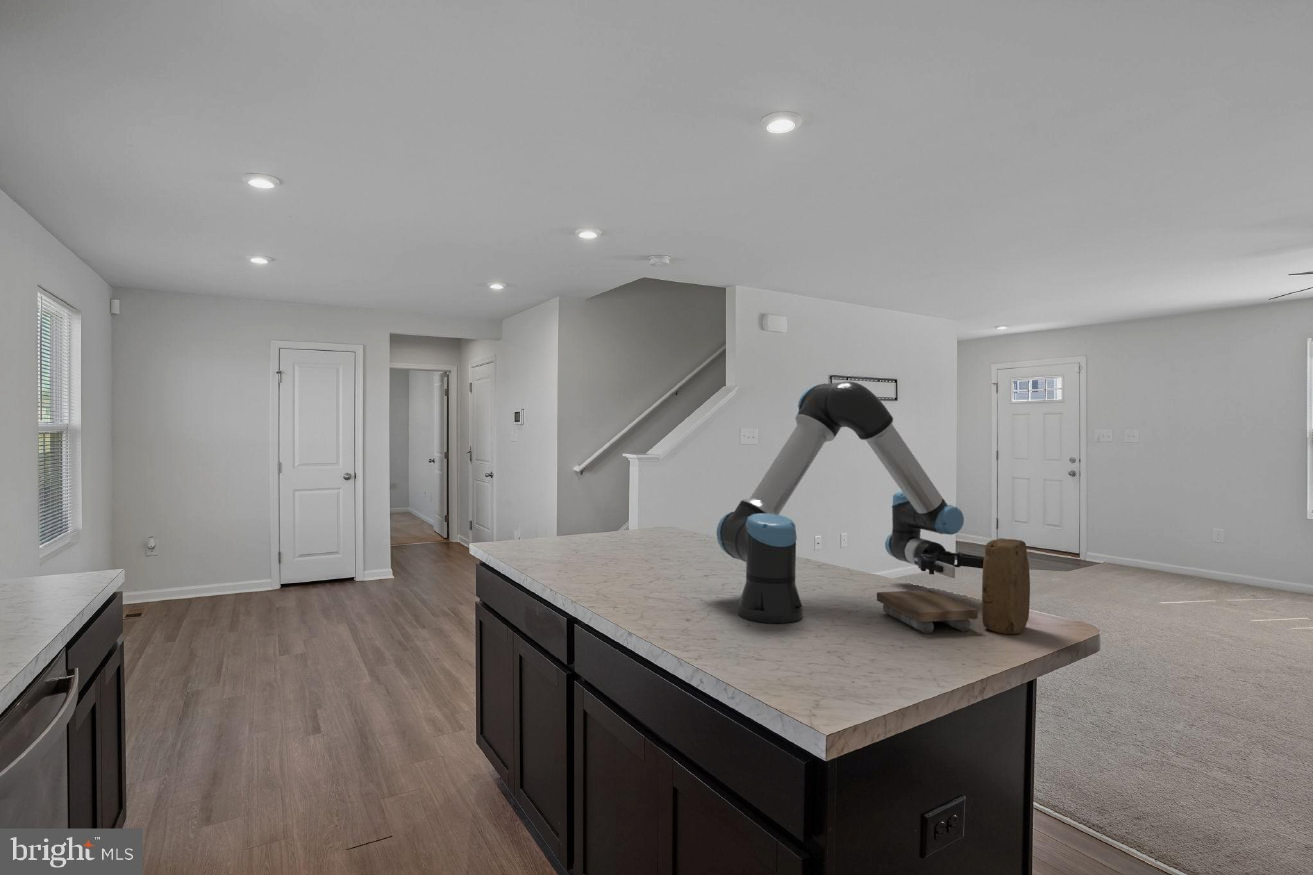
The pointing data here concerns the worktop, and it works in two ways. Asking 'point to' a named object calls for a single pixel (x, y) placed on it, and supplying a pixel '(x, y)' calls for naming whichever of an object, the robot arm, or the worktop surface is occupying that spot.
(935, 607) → the slab
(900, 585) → the worktop surface
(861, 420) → the robot arm
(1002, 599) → the block
